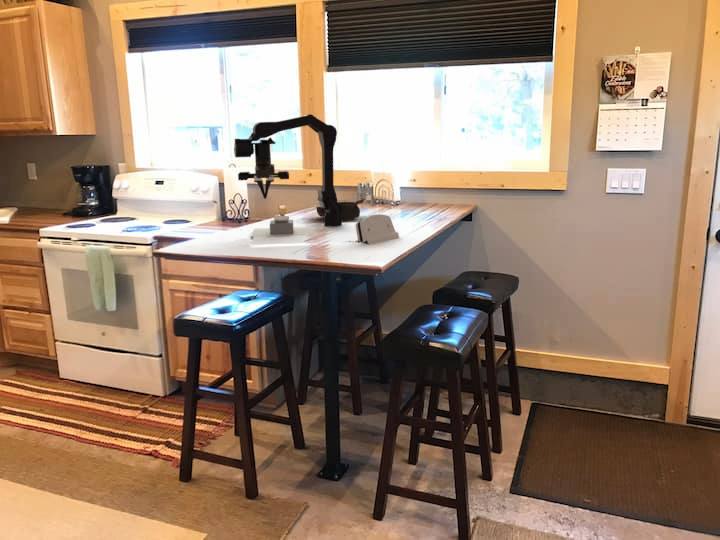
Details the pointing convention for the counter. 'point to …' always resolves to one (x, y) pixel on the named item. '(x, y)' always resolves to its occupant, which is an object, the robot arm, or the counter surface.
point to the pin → (281, 218)
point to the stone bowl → (344, 209)
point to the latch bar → (282, 208)
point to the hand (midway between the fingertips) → (265, 198)
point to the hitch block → (283, 230)
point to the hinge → (375, 229)
